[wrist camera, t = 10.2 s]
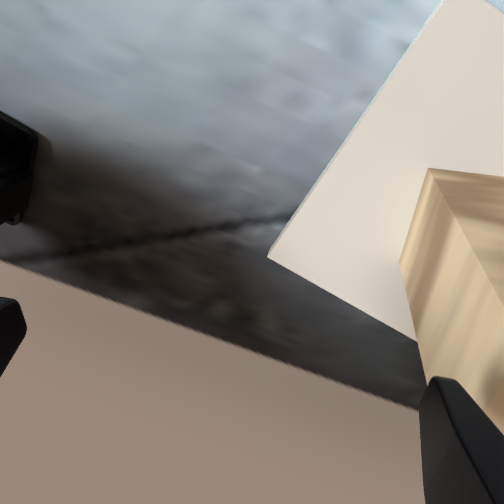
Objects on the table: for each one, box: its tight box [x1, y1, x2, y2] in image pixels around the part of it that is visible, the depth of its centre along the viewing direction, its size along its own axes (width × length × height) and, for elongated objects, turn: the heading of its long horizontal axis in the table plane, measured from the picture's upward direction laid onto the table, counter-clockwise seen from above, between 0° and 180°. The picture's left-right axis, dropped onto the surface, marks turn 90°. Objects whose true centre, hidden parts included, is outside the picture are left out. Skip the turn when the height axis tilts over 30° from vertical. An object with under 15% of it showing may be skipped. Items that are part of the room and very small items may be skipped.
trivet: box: [267, 0, 504, 341], centre depth 19 cm, size 14×14×1 cm
